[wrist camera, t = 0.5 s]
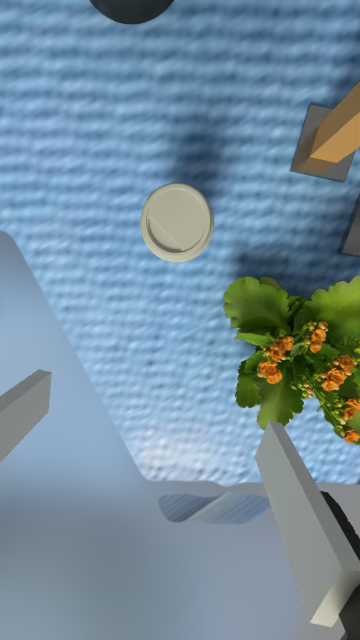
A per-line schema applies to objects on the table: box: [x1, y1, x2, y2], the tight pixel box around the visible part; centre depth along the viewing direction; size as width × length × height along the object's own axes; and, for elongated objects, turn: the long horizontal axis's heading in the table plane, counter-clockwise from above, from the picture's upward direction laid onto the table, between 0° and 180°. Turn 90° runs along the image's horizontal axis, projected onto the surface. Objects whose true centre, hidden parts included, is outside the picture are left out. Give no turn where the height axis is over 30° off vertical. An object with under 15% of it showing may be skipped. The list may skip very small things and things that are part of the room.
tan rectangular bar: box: [310, 81, 360, 163], centre depth 26 cm, size 4×4×12 cm
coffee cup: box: [141, 183, 214, 262], centre depth 30 cm, size 9×8×12 cm
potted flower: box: [223, 275, 360, 445], centre depth 31 cm, size 25×24×18 cm
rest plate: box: [290, 104, 356, 183], centre depth 32 cm, size 8×8×1 cm
